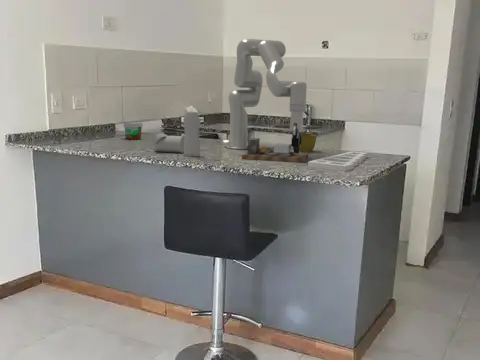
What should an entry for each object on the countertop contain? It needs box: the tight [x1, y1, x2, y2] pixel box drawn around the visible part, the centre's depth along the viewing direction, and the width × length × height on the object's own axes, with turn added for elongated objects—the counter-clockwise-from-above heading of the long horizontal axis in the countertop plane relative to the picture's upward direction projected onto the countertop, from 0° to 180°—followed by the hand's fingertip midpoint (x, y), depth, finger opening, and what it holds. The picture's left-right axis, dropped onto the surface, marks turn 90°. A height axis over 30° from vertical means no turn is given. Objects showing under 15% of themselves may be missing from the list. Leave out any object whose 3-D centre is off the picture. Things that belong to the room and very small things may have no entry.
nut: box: [258, 144, 268, 154], centre depth 262 cm, size 4×4×4 cm
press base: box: [241, 137, 309, 163], centre depth 260 cm, size 30×14×9 cm, turn 75°
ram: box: [273, 133, 300, 154], centre depth 258 cm, size 12×8×10 cm, turn 75°
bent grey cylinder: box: [152, 132, 185, 154], centre depth 282 cm, size 18×10×20 cm
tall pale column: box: [182, 110, 201, 158], centre depth 264 cm, size 11×4×22 cm, turn 54°
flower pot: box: [299, 133, 318, 153], centre depth 287 cm, size 9×9×9 cm
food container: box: [122, 122, 143, 141], centre depth 326 cm, size 12×6×10 cm, turn 73°
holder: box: [307, 151, 369, 172], centre depth 252 cm, size 45×18×3 cm, turn 143°
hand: (296, 145), depth 257 cm, fingers open, 8 cm apart
